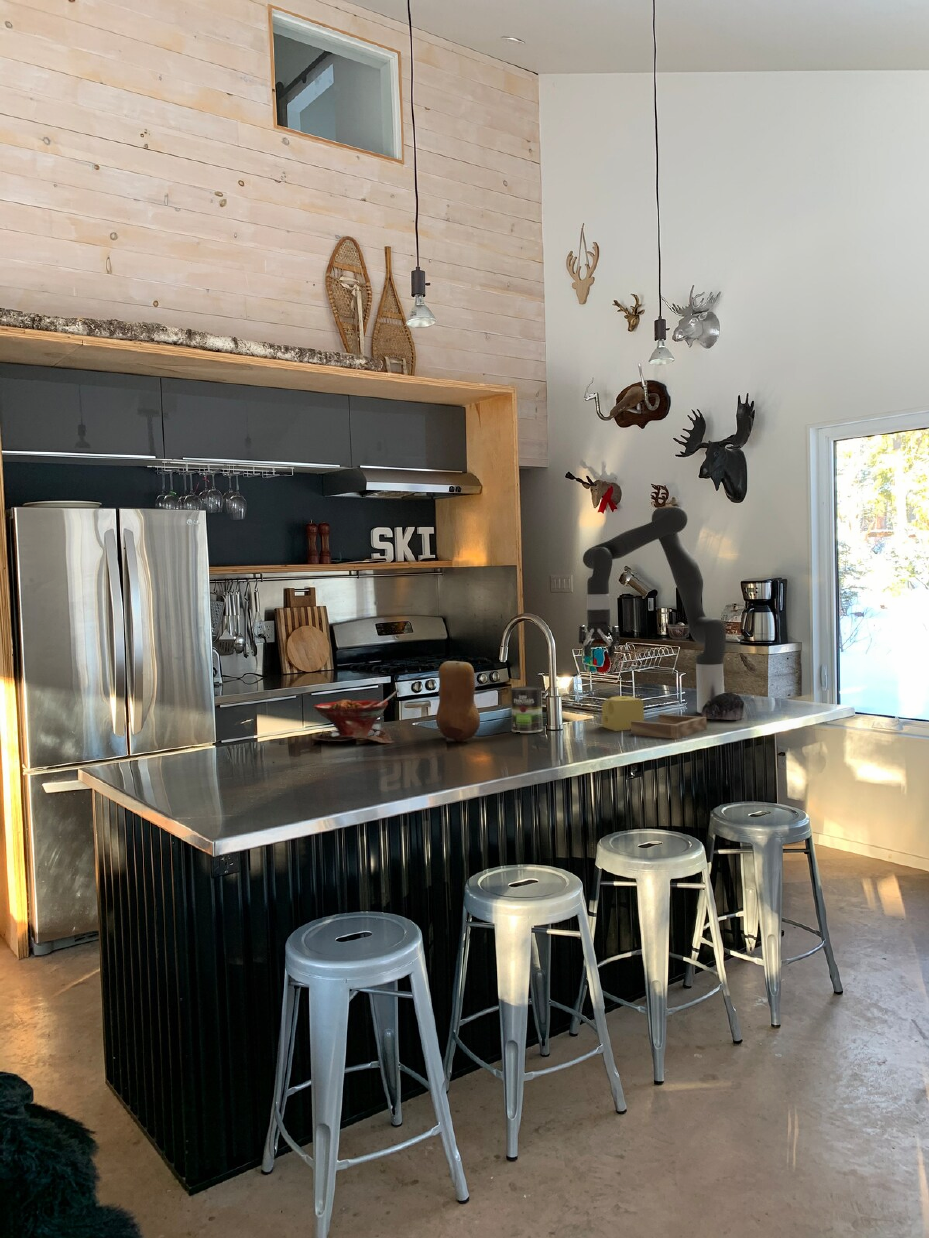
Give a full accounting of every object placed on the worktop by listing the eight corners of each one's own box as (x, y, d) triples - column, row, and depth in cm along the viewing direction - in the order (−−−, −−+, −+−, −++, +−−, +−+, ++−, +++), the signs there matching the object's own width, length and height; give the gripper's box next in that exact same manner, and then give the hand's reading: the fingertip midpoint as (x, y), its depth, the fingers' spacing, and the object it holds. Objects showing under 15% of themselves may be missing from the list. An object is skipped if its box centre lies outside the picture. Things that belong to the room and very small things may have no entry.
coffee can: (539, 733, 307) (538, 689, 307) (508, 733, 310) (506, 689, 310) (546, 728, 317) (544, 686, 316) (515, 728, 320) (514, 686, 319)
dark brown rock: (694, 719, 325) (693, 690, 325) (729, 716, 329) (728, 688, 329) (716, 725, 312) (715, 695, 312) (752, 722, 316) (751, 692, 316)
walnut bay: (661, 725, 314) (661, 713, 314) (706, 729, 303) (706, 717, 303) (631, 734, 300) (630, 721, 299) (677, 738, 289) (676, 725, 289)
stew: (401, 733, 317) (399, 685, 316) (399, 746, 293) (397, 694, 292) (317, 736, 316) (315, 688, 315) (307, 749, 292) (305, 697, 292)
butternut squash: (482, 735, 306) (479, 658, 305) (478, 743, 293) (476, 662, 292) (439, 736, 308) (436, 659, 306) (434, 744, 294) (431, 663, 293)
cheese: (601, 727, 316) (600, 697, 316) (630, 724, 319) (629, 694, 319) (615, 731, 306) (614, 700, 306) (645, 729, 309) (644, 698, 309)
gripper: (623, 607, 313) (624, 657, 313) (586, 607, 322) (587, 655, 322) (611, 608, 307) (612, 658, 308) (573, 608, 316) (574, 657, 317)
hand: (599, 657), depth 315 cm, fingers open, 8 cm apart
